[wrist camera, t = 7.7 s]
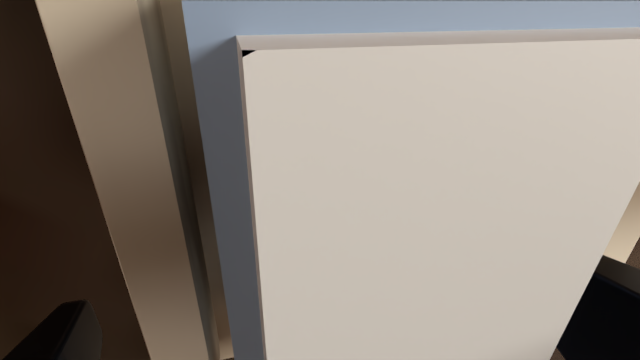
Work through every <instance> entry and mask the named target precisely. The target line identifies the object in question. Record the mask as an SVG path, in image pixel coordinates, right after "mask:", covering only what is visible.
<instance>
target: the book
mask: <svg viewBox="0 0 640 360" xmlns="http://www.w3.org/2000/svg"><path fill="white" fill-rule="evenodd" d="M182 8H183V15H184V22H185V28H186V35H187V42H188V49H189V56H190V62H191V69H192V76H193V83H194V89H195V96H196V103H197V110H198V116H199V123H200V130H201V137H202V144H203V150H204V157H205V164H206V171H207V177H208V184H209V191H210V198H211V204H212V211H213V218H214V225H215V232H216V238H217V245H218V252H219V259H220V265H221V272H222V279H223V286H224V293H225V299H226V306H227V313H228V320H229V326H230V333H231V340H232V347H233V353H234V360H550V358H551V356H552V354H553V352H554V350H555V348H556V346H557V344H558V342H559V340H560V338H561V336H562V334H563V332H564V330H565V328H566V326H567V324H568V322H569V320H570V318H571V316H572V314H573V312H574V310H575V308H576V306H577V304H578V302H579V300H580V298H581V296H582V295H583V293H584V291H585V289H586V287H587V285H588V283H589V281H590V279H591V277H592V275H593V273H594V271H595V269H596V267H597V265H598V263H599V261H600V259H601V257H602V255H603V253H604V251H605V249H606V247H607V245H608V243H609V241H610V239H611V237H612V235H613V233H614V231H615V229H616V227H617V225H618V223H619V221H620V219H621V217H622V215H623V214H624V212H625V210H626V208H627V206H628V204H629V202H630V200H631V198H632V196H633V194H634V192H635V190H636V188H637V186H638V184H639V182H640V0H182Z"/></svg>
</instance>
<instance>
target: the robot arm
mask: <svg viewBox="0 0 640 360" xmlns="http://www.w3.org/2000/svg"><path fill="white" fill-rule="evenodd" d="M556 347H557V349H558V350H559V352H560V353H561V354H562V356H563V357H564V358H565V360H640V269H638V268H636V267H633V266H630V265H628V264H625V263H623V262H620V261H617V260H615V259H612V258H610V257H607V256H605V255H602V257H601V259H600V261H599V263H598V265H597V267H596V269H595V271H594V273H593V275H592V277H591V279H590V281H589V283H588V285H587V287H586V289H585V291H584V293H583V295H582V296H581V298H580V300H579V302H578V304H577V306H576V308H575V310H574V312H573V314H572V316H571V318H570V320H569V322H568V324H567V326H566V328H565V330H564V332H563V334H562V336H561V338H560V340H559V342H558V344H557V346H556ZM101 349H102V330H101V327H100V324H99V322H98V319H97V317H96V314H95V312H94V309H93V307H92V305H91V303H90V302H89V301H88V300H78V301H72V302H66V303H63V304H61V305H60V306H58V307H57V308H56V309H55V310H54V311H53V312H52V313H51V314H50V315H49V316H48V317H47V318H46V319H44V320H43V321H42V322H41V323H40V324H39V325H38V326H37V327H36V328H35V329H34V330H33V331H32V332H31V333H30V334H29V335H28V336H27V337H25V338H24V339H23V340H22V341H21V342H20V343H19V344H18V345H17V346H16V347H15V348H14V349H13V350H12V351H11V352H10V353H9V354H8V355H6V356H5V357H4V358H3V359H2V360H100V356H101Z"/></svg>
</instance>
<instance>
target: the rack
mask: <svg viewBox="0 0 640 360" xmlns="http://www.w3.org/2000/svg"><path fill="white" fill-rule="evenodd" d="M35 3H36V6H37V9H38V12H39V15H40V18H41V21H42V25H43V28H44V31H45V34H46V37H47V40H48V43H49V46H50V49H51V52H52V56H53V59H54V62H55V65H56V68H57V71H58V74H59V77H60V80H61V83H62V86H63V90H64V93H65V96H66V99H67V102H68V105H69V108H70V111H71V114H72V117H73V121H74V124H75V127H76V130H77V133H78V136H79V139H80V142H81V145H82V148H83V152H84V155H85V158H86V161H87V164H88V167H89V170H90V173H91V176H92V179H93V183H94V186H95V189H96V192H97V195H98V198H99V201H100V204H101V207H102V210H103V214H104V217H105V220H106V223H107V226H108V229H109V232H110V235H111V238H112V241H113V245H114V248H115V251H116V254H117V257H118V260H119V263H120V266H121V269H122V272H123V276H124V279H125V282H126V285H127V288H128V291H129V294H130V297H131V300H132V303H133V306H134V310H135V313H136V316H137V319H138V322H139V325H140V328H141V331H142V334H143V337H144V341H145V344H146V347H147V350H148V353H149V356H150V359H151V360H223V359H227V358H232V357H234V353H233V347H232V340H231V333H230V326H229V320H228V313H227V306H226V299H225V293H224V286H223V279H222V272H221V265H220V259H219V252H218V245H217V238H216V232H215V225H214V218H213V211H212V204H211V198H210V191H209V184H208V177H207V171H206V164H205V157H204V150H203V144H202V137H201V130H200V123H199V116H198V110H197V103H196V96H195V89H194V83H193V76H192V69H191V62H190V56H189V49H188V42H187V35H186V28H185V22H184V15H183V8H182V0H35ZM639 237H640V182H639V184H638V186H637V188H636V190H635V192H634V194H633V196H632V198H631V200H630V202H629V204H628V206H627V208H626V210H625V212H624V214H623V215H622V217H621V219H620V221H619V223H618V225H617V227H616V229H615V231H614V233H613V235H612V237H611V239H610V241H609V243H608V245H607V247H606V249H605V251H604V253H603V255H605V256H607V257H610V258H612V259H615V260H617V261H620V262H623V263H625V262H626V261H627V259H628V257H629V255H630V253H631V251H632V250H633V248H634V246H635V244H636V242H637V241H638V239H639Z"/></svg>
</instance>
